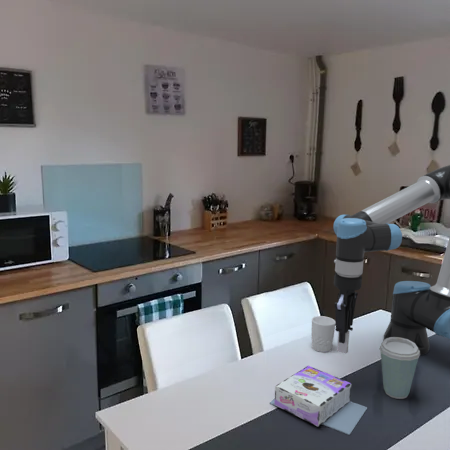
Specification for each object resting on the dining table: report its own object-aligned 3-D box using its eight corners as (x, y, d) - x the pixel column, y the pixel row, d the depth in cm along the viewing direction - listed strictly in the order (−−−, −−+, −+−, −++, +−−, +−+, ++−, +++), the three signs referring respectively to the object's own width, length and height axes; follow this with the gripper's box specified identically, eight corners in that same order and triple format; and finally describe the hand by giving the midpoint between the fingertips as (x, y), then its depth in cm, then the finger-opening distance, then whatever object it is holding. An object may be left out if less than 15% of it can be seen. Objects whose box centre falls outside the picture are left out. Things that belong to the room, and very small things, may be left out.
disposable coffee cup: (417, 406, 124) (423, 355, 121) (375, 399, 127) (380, 349, 124) (413, 387, 134) (419, 339, 131) (374, 380, 137) (379, 333, 134)
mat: (292, 382, 135) (292, 381, 135) (367, 408, 123) (367, 407, 122) (269, 403, 123) (269, 402, 123) (349, 435, 111) (349, 434, 111)
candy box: (307, 383, 134) (272, 405, 122) (308, 364, 133) (274, 384, 121) (350, 402, 125) (317, 428, 113) (352, 382, 124) (319, 406, 112)
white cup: (315, 340, 163) (317, 314, 161) (336, 347, 158) (339, 319, 156) (306, 348, 156) (307, 321, 154) (327, 355, 152) (329, 327, 150)
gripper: (343, 266, 136) (337, 340, 140) (326, 276, 125) (321, 356, 130) (368, 270, 132) (362, 346, 136) (353, 282, 121) (347, 364, 126)
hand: (342, 351), depth 133 cm, fingers closed
